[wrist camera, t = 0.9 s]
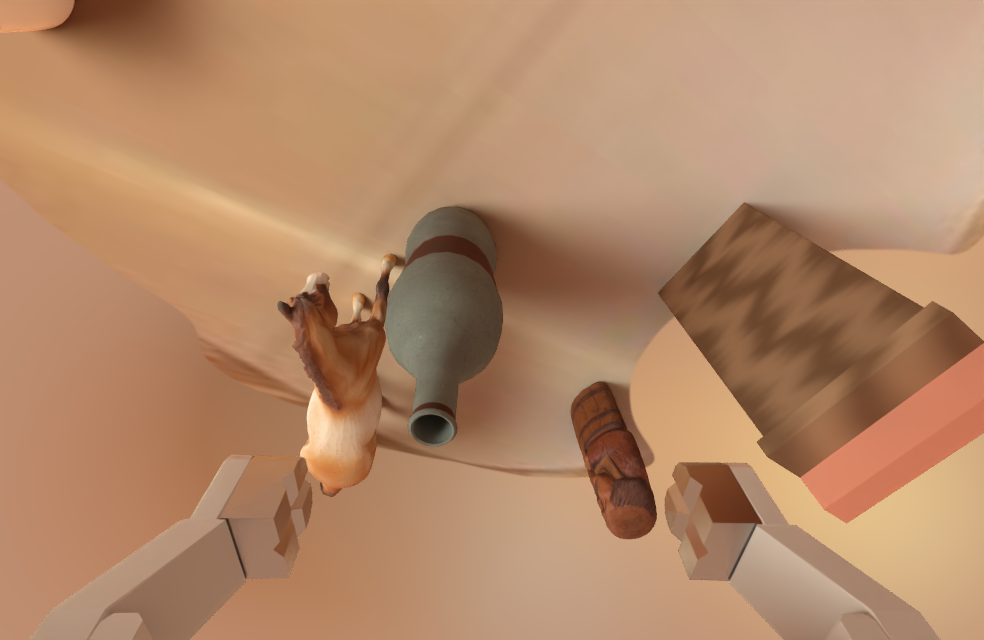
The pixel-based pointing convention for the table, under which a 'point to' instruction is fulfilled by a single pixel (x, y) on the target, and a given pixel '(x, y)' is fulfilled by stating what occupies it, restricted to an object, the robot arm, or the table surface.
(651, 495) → the wooden figurine
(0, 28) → the candle holder
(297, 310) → the horse figurine
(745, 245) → the stand
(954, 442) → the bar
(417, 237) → the bottle
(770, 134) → the table surface
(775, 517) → the robot arm
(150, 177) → the table surface
